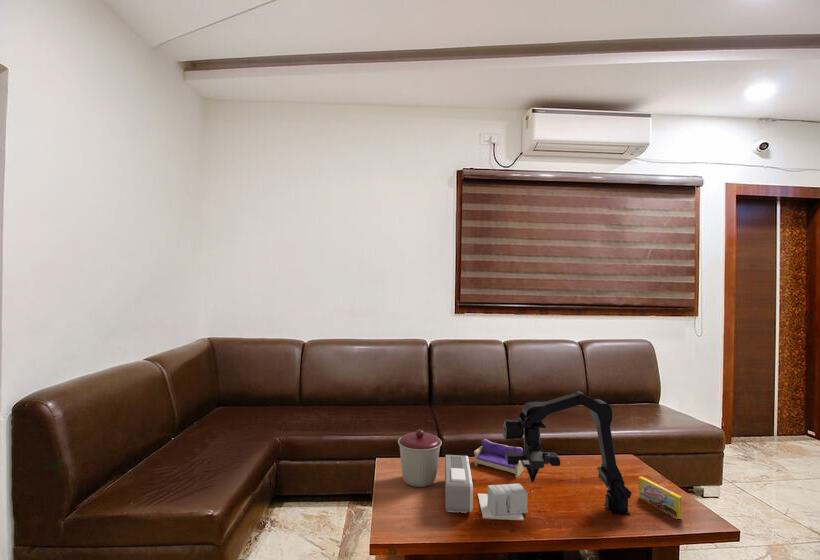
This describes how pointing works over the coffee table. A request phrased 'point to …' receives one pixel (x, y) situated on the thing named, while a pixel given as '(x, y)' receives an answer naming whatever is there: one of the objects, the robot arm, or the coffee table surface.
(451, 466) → the grey boxy piece
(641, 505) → the coffee table surface
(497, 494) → the supplement box
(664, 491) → the candy box
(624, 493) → the robot arm
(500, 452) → the toy sofa
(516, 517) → the white flat panel
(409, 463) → the canister
